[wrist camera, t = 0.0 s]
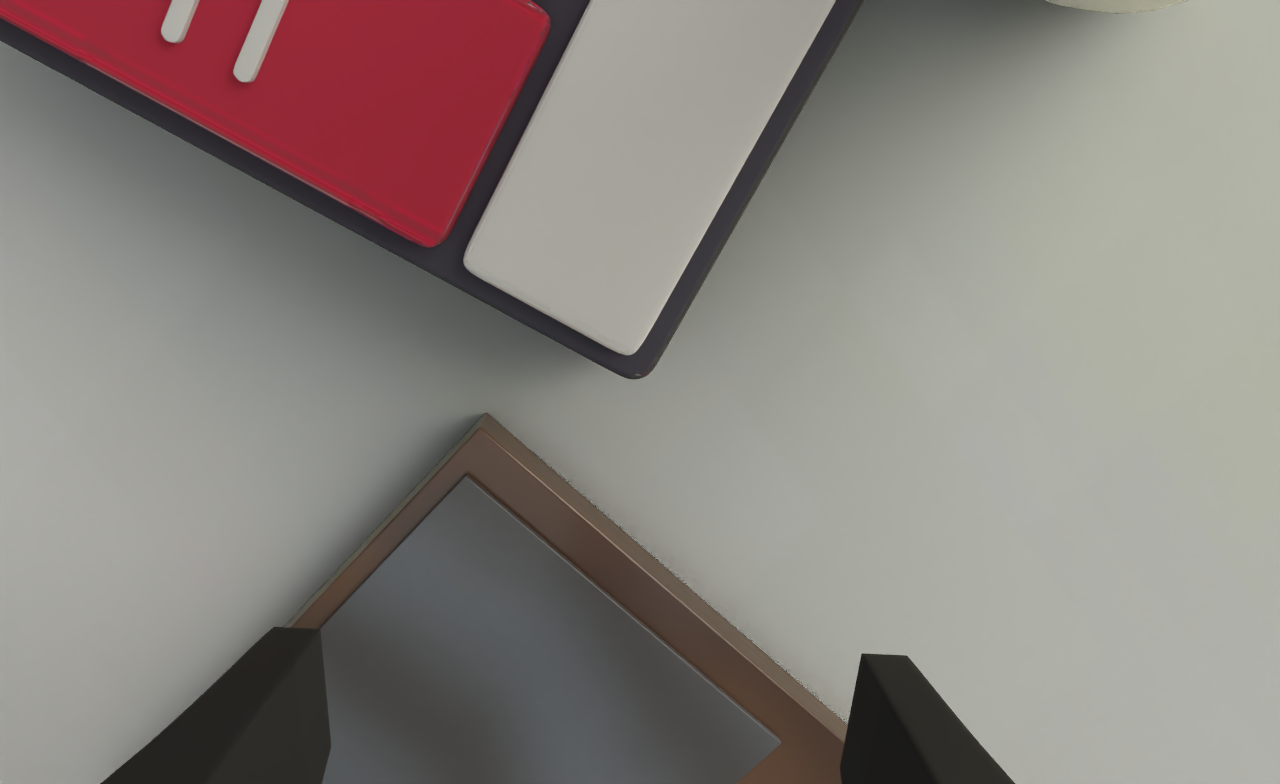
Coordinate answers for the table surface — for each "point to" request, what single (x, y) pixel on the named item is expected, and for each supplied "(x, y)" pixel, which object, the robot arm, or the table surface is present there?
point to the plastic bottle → (1117, 5)
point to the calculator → (481, 130)
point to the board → (542, 648)
